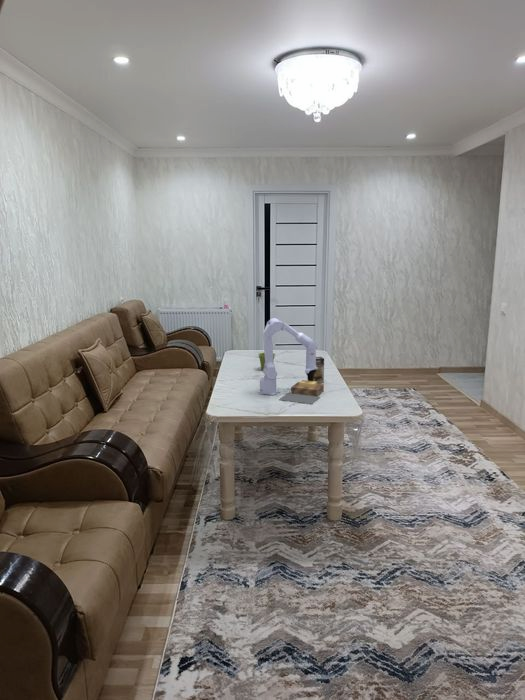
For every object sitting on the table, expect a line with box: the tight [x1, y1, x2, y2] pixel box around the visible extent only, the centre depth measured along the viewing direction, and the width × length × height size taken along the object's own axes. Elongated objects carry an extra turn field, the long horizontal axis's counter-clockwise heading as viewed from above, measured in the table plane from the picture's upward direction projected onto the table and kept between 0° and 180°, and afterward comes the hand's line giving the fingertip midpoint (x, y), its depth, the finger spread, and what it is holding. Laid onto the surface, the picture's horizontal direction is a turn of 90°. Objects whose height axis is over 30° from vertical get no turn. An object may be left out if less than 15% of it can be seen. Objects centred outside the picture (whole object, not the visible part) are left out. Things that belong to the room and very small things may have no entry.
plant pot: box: [257, 352, 276, 371], centre depth 351 cm, size 12×12×11 cm
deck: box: [290, 381, 325, 397], centre depth 301 cm, size 16×12×4 cm
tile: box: [298, 379, 317, 388], centre depth 301 cm, size 9×6×2 cm, turn 66°
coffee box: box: [306, 356, 325, 384], centre depth 319 cm, size 9×6×16 cm
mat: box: [278, 392, 321, 405], centre depth 290 cm, size 20×14×1 cm
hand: (310, 382), depth 306 cm, fingers closed
